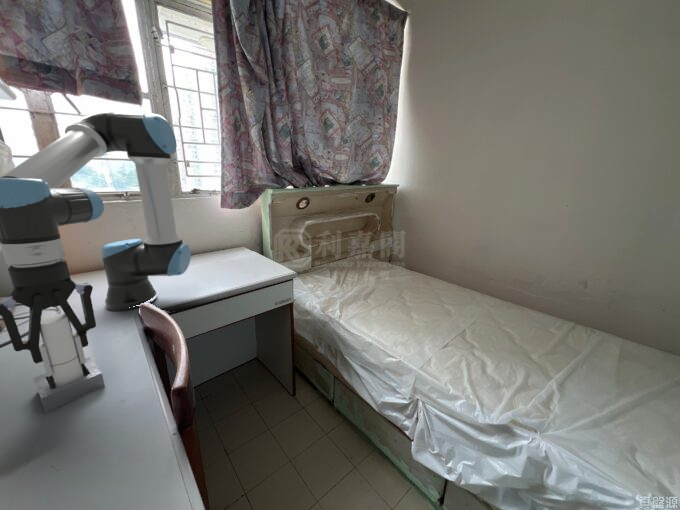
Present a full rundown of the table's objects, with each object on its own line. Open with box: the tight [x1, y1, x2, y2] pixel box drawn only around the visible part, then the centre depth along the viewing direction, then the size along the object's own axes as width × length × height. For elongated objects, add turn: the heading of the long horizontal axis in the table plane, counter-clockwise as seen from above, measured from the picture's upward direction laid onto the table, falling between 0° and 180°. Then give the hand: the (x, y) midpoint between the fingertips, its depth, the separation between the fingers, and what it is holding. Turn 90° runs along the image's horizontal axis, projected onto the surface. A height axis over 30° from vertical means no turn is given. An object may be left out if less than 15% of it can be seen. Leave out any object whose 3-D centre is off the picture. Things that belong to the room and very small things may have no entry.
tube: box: [40, 313, 84, 388], centre depth 56 cm, size 4×4×15 cm
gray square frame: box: [33, 356, 106, 414], centre depth 58 cm, size 9×9×4 cm
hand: (66, 366), depth 57 cm, fingers closed on tube, 4 cm apart
